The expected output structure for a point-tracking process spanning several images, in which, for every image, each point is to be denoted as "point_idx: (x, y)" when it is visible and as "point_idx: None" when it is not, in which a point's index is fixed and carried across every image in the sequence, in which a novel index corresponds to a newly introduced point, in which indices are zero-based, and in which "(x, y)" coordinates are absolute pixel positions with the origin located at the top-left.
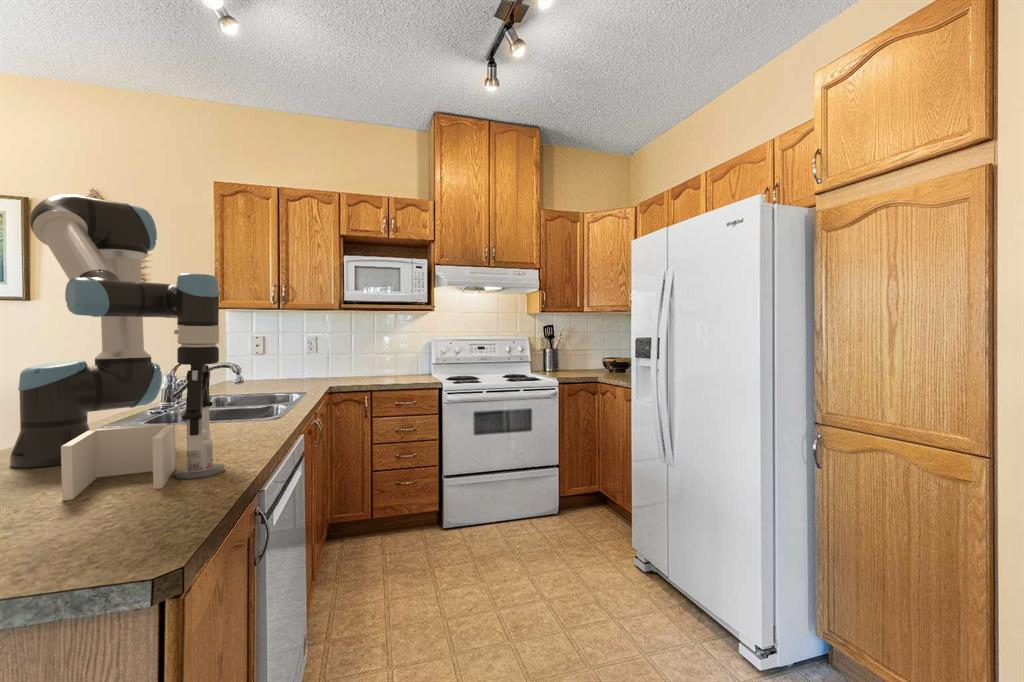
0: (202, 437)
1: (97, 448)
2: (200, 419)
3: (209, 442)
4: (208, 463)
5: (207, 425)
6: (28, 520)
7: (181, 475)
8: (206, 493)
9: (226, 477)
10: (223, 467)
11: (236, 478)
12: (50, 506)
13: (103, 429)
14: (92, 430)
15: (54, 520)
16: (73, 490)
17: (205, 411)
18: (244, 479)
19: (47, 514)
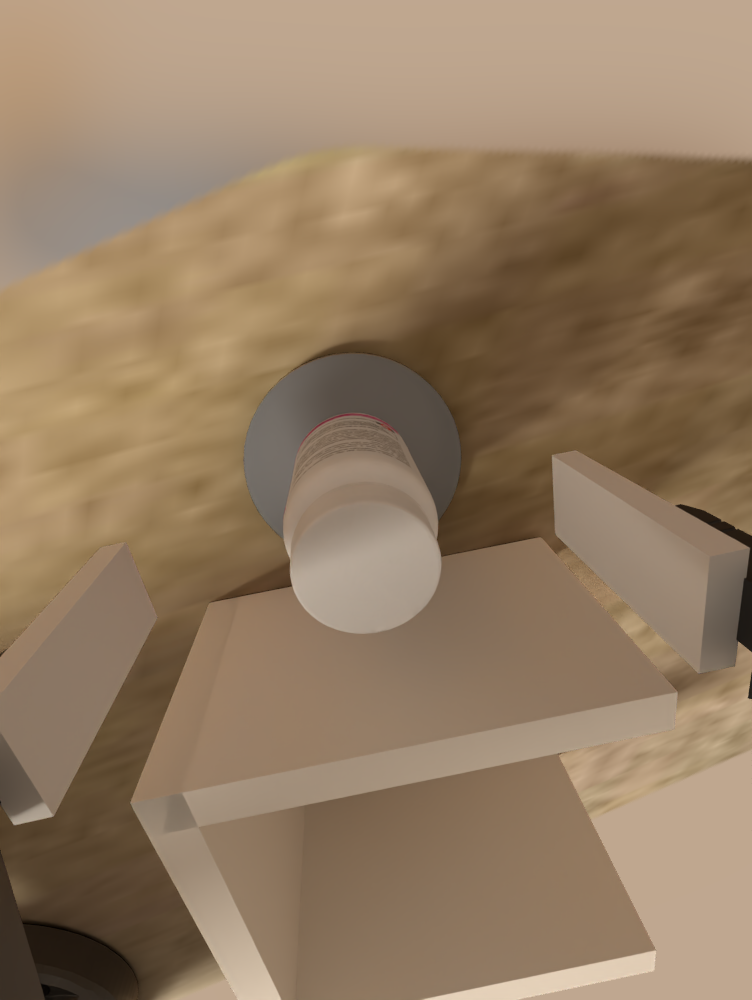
0: (622, 478)
1: (299, 911)
2: (738, 560)
3: (396, 463)
4: (388, 430)
5: (98, 592)
6: (698, 746)
7: (439, 516)
8: (709, 333)
9: (477, 306)
10: (346, 357)
11: (518, 244)
12: (594, 759)
13: None
14: None
15: (737, 693)
16: (555, 764)
17: (33, 702)
18: (557, 190)
19: (669, 732)
